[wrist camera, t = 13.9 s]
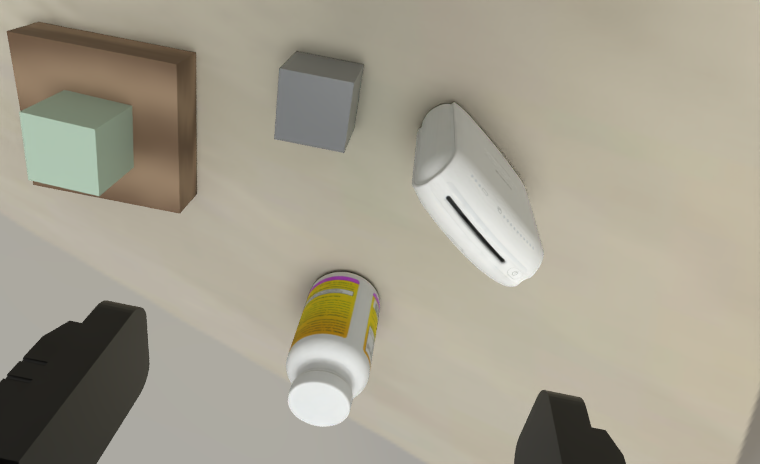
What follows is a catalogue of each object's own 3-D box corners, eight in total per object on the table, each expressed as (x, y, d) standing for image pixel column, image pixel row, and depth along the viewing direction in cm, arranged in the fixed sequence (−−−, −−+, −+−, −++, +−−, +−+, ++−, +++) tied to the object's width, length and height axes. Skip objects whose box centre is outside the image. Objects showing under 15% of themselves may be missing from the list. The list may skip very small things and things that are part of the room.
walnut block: (42, 20, 42) (6, 31, 39) (198, 51, 42) (176, 64, 39) (62, 164, 48) (33, 184, 45) (198, 191, 48) (179, 213, 45)
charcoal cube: (297, 51, 41) (279, 68, 37) (364, 64, 41) (354, 83, 37) (291, 115, 44) (274, 138, 39) (354, 128, 44) (344, 152, 39)
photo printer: (534, 189, 45) (560, 278, 34) (489, 218, 46) (501, 312, 36) (454, 89, 41) (457, 154, 31) (409, 124, 43) (397, 198, 32)
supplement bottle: (295, 294, 52) (254, 398, 41) (345, 255, 50) (315, 356, 39) (345, 337, 54) (320, 447, 43) (396, 303, 52) (382, 411, 41)
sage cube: (64, 89, 41) (19, 111, 36) (132, 105, 41) (94, 129, 36) (70, 152, 43) (28, 179, 39) (133, 167, 43) (99, 196, 39)
